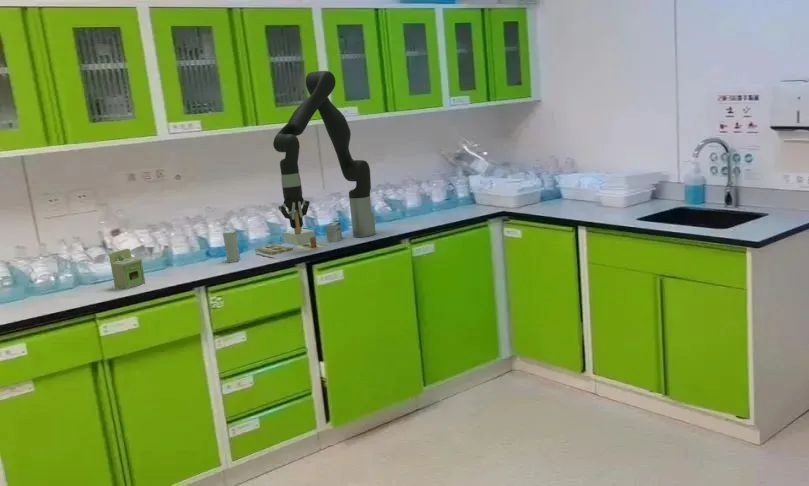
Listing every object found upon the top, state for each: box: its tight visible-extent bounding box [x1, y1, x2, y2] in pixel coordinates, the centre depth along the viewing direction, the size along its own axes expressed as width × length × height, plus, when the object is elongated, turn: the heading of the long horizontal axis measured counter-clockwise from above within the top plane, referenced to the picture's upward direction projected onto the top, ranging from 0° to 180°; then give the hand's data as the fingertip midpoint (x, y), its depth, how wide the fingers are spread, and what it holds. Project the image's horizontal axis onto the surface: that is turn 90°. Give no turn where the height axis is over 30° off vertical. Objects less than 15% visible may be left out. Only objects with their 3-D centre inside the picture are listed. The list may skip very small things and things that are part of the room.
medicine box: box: [325, 221, 343, 243], centre depth 322 cm, size 8×4×9 cm, turn 168°
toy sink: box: [108, 248, 146, 290], centre depth 277 cm, size 8×7×13 cm
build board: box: [254, 243, 294, 259], centre depth 312 cm, size 10×14×2 cm
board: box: [293, 236, 328, 251], centre depth 314 cm, size 10×12×6 cm
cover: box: [282, 227, 316, 246], centre depth 325 cm, size 9×11×11 cm
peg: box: [293, 211, 301, 235], centre depth 304 cm, size 2×2×9 cm
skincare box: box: [222, 229, 241, 263], centre depth 305 cm, size 6×4×12 cm
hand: (297, 227), depth 304 cm, fingers closed on peg, 2 cm apart
